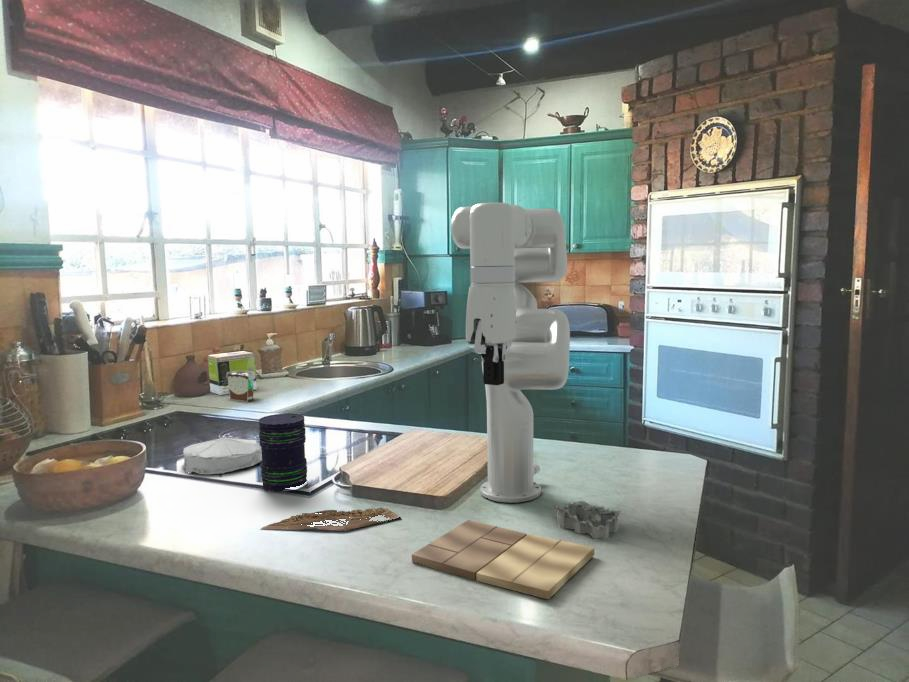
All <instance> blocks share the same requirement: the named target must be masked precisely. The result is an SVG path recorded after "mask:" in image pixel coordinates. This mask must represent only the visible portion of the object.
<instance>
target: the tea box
mask: <svg viewBox="0 0 909 682" xmlns="http://www.w3.org/2000/svg"><path fill="white" fill-rule="evenodd" d="M255 357H256V356H255V352H250V351H245V350H241V351H233V352H223V353H216V354H208V355H207V365H208V378H209V388H210V389H209V390H210V393H213V394H216V395H217V396H218V395H219V396H223V395H229V387H228V379H227V378H226V374H227V372H231V371H252V372H254V374H255V379H254V381H253V391H255V390H258V383H257V382H258V381H257V368H256V358H255Z"/></svg>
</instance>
